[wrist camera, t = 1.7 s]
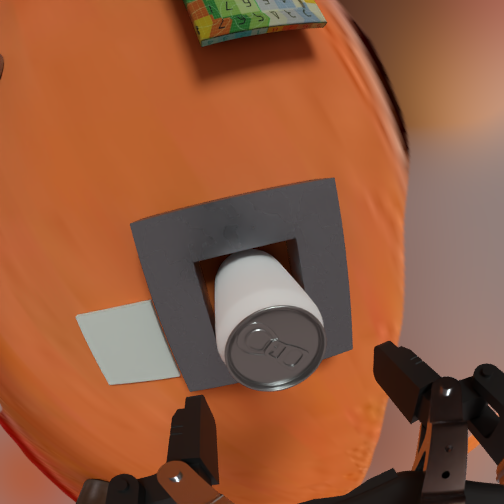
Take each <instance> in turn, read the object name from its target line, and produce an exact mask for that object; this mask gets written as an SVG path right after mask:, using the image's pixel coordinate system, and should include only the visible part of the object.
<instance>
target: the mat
mask: <svg viewBox="0 0 504 504" xmlns="http://www.w3.org/2000/svg"><path fill="white" fill-rule="evenodd" d="M76 319H77V322H78V324H79V326H80V328H81V331H82V333H83V335H84V337H85V339H86V341H87V343H88V345H89V348H90V350H91V352H92V354H93V356H94V357H95V359H96V361H97V363H98V365H99V367H100V369H101V371H102V373H103V374H104V376H105V378H106V380H107V381H108V383H109V385H113V384H124V383H134V382H143V381H151V380H158V379H165V378H172V377H179V376H180V371H179V369H178V367H177V365H176V362H175V360H174V358H173V355H172V353H171V350H170V348H169V346H168V343H167V341H166V338H165V336H164V333H163V330H162V328H161V325H160V323H159V320H158V317H157V314H156V312H155V309H154V306H153V303H152V300H147V301H142V302H137V303H133V304H128V305H123V306H118V307H114V308H109V309H104V310H99V311H94V312H89V313H84V314H79V315H77V316H76Z"/></svg>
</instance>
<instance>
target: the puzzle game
mask: <svg viewBox="0 0 504 504" xmlns="http://www.w3.org/2000/svg"><path fill="white" fill-rule="evenodd" d="M183 1H184V4H185V6H186V9H187V11H188V14H189V17H190V19H191V22H192V24H193V27H194V29H195V32H196V35H197V37H198V40H199V42H200V45H201V47H203V46H207V45H211V44H215V43H219V42H223V41H227V40H231V39H236V38H241V37H246V36H251V35H257V34H263V33H270V32H277V31H285V30H295V29H307V28H323V27H324V26H325V25H326V24H327V22H326V20H325V18H324V16H323V15H322V13H321V11H320V9H319V8H318V6H317V4H316V3H315V1H314V0H183Z"/></svg>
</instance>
